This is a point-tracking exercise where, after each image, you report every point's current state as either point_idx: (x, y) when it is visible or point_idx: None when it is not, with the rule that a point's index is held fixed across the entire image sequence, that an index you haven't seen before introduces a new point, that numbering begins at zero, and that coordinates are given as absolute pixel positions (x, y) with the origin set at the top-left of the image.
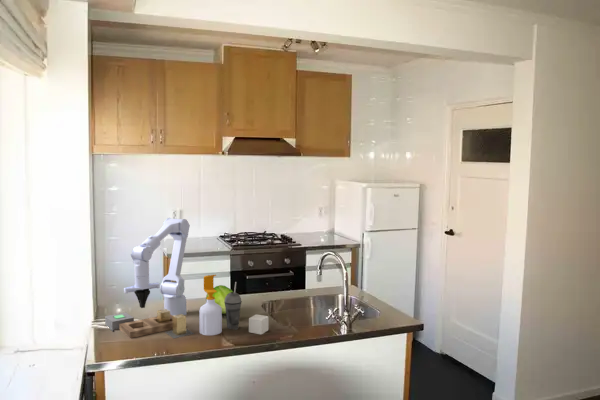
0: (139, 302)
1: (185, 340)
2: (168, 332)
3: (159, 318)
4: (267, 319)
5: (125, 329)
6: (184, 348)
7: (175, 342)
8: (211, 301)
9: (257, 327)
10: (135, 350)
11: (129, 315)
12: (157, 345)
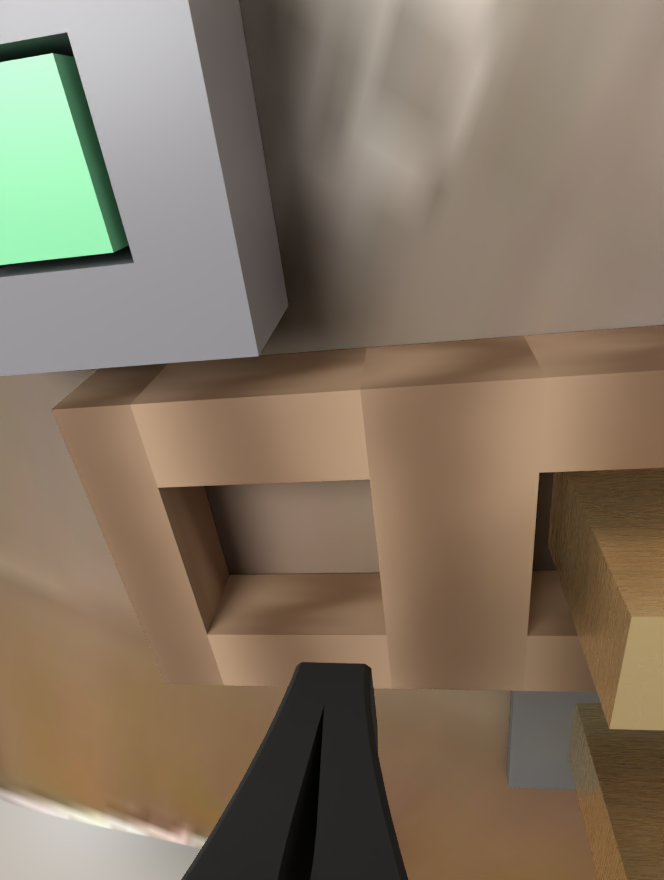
0: (265, 771)
1: (573, 811)
2: None
3: (584, 602)
4: None
5: (130, 581)
6: (490, 875)
7: (491, 803)
8: None
9: None
10: (202, 775)
11: (204, 184)
12: None
